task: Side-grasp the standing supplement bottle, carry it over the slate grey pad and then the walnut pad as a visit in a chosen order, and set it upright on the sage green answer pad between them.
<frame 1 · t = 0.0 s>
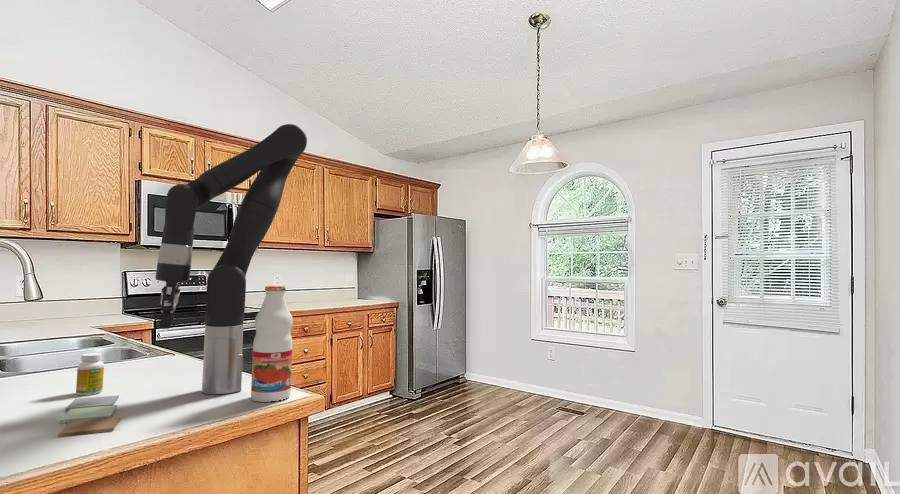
hand: (166, 326, 121), 17 cm above the counter, tool pointing down, fingers open, 8 cm apart
sage pad: (89, 415, 104), on the counter
supplement bottle: (89, 393, 121), on the counter
slate pad: (93, 404, 112), on the counter
fruit juice: (270, 398, 121), on the counter
walnut pad: (91, 427, 96), on the counter
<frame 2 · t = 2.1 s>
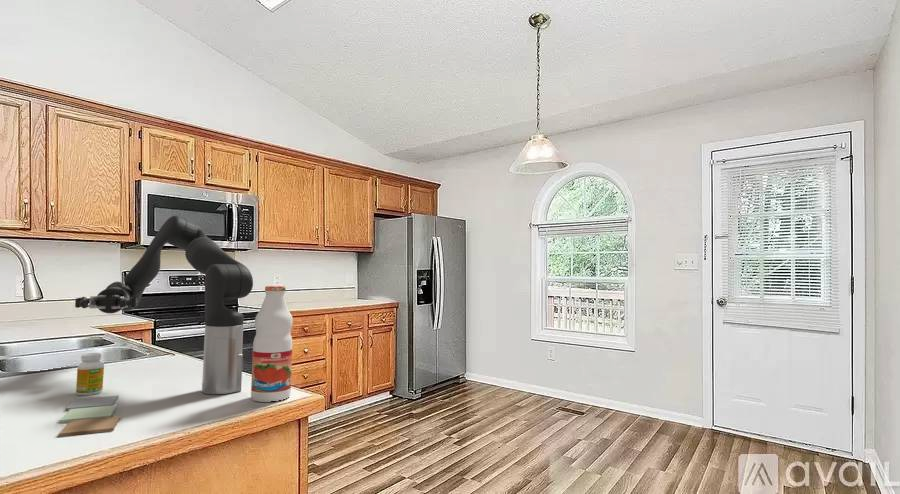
hand: (102, 304, 132), 22 cm above the counter, tool horizontal, fingers open, 8 cm apart
nothing on the counter moved.
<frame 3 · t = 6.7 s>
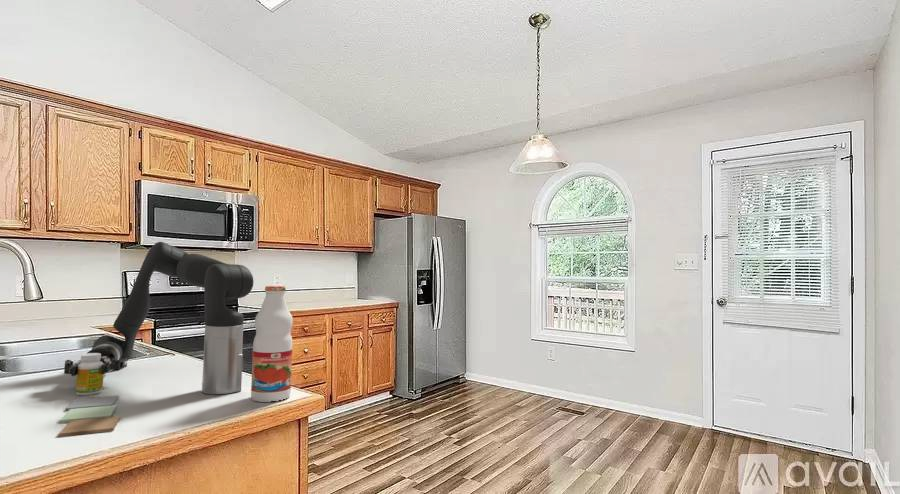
hand: (88, 370, 119), 6 cm above the counter, tool horizontal, fingers closed on supplement bottle, 5 cm apart
supplement bottle: (89, 393, 121), on the counter, touching gripper
everything else where it was.
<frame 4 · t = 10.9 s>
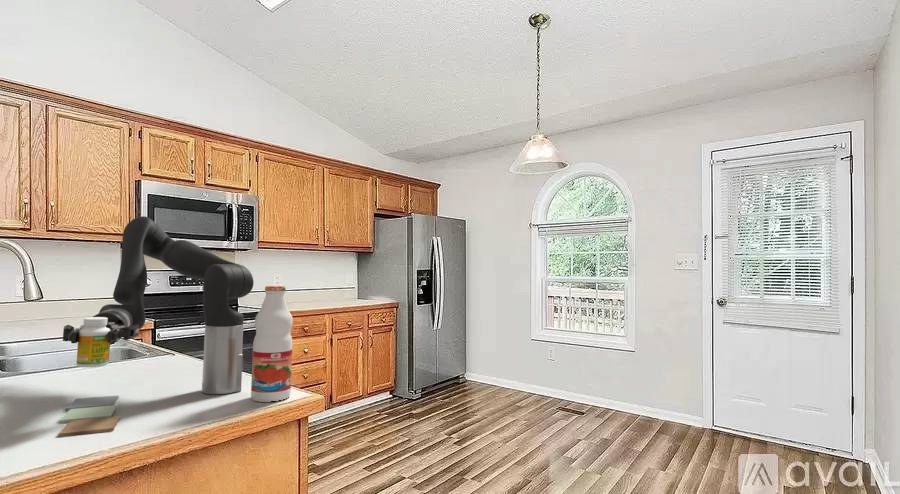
hand: (92, 337, 97), 18 cm above the counter, tool horizontal, fingers closed on supplement bottle, 5 cm apart
supplement bottle: (92, 366, 99), point 12 cm above the counter, touching gripper
everything else where it was.
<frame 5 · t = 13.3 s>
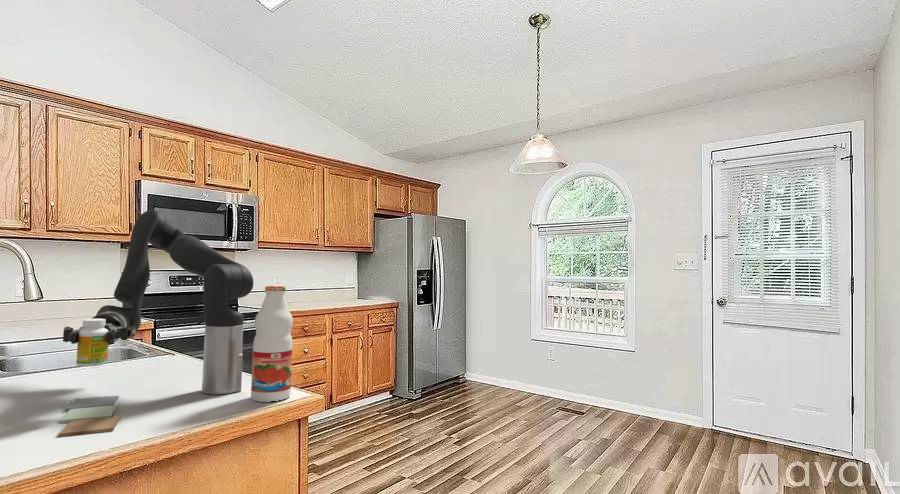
hand: (91, 338, 102), 17 cm above the counter, tool horizontal, fingers closed on supplement bottle, 5 cm apart
supplement bottle: (91, 365, 104), point 11 cm above the counter, touching gripper
everything else where it was.
when the fingers open (8 cm above the counter, at t = 15.3 s): supplement bottle stays where it is, resting on sage pad.
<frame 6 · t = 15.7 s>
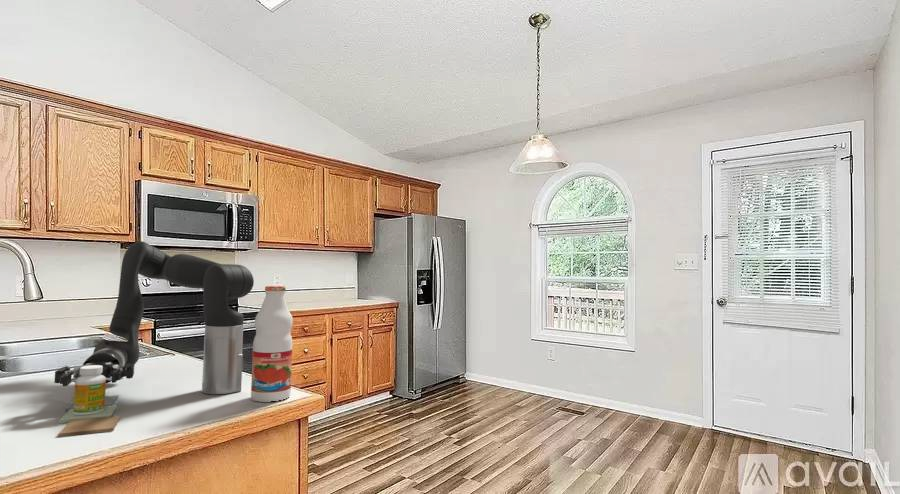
hand: (89, 379, 102), 8 cm above the counter, tool horizontal, fingers open, 8 cm apart
supplement bottle: (88, 413, 104), resting on sage pad
everything else where it was.
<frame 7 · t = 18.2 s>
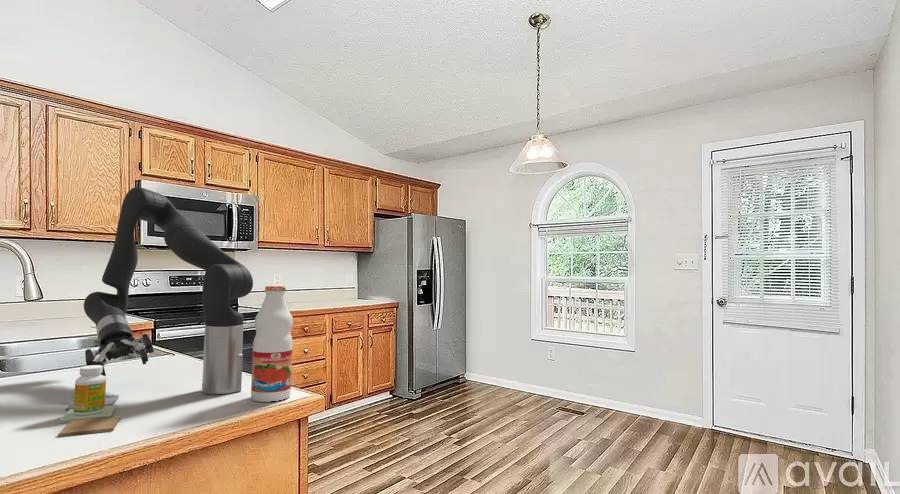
hand: (124, 367, 119), 7 cm above the counter, tool tilted 65°, fingers open, 8 cm apart
nothing on the counter moved.
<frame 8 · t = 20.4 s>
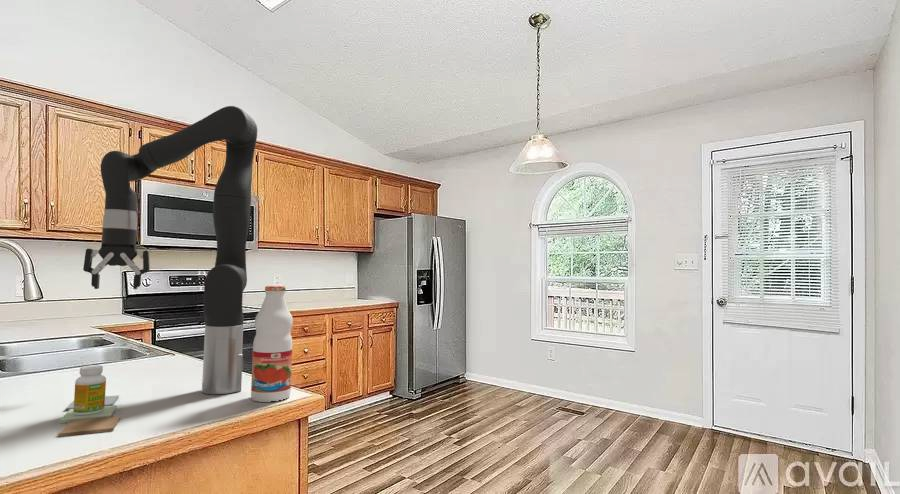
hand: (116, 288, 127), 26 cm above the counter, tool pointing down, fingers open, 8 cm apart
nothing on the counter moved.
at the end: supplement bottle 0.2 cm off-centre on the sage pad, point 0.4 cm above the sage pad's base; supplement bottle tilted 0°; the gripper is holding nothing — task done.
